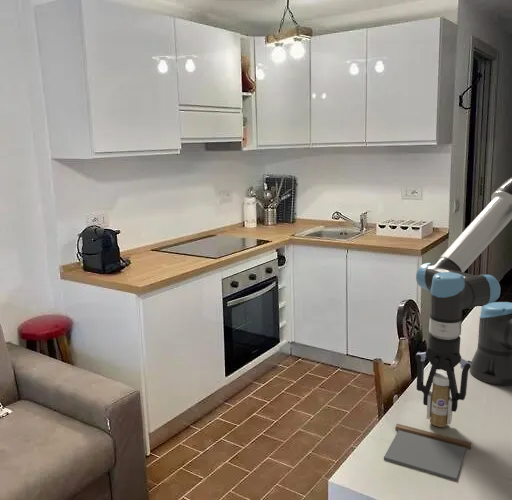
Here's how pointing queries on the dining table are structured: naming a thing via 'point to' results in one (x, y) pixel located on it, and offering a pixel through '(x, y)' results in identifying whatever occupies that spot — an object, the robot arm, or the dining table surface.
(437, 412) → the sprinkles bottle
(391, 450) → the mat
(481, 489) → the dining table surface
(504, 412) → the dining table surface
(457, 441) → the brown wooden strip
